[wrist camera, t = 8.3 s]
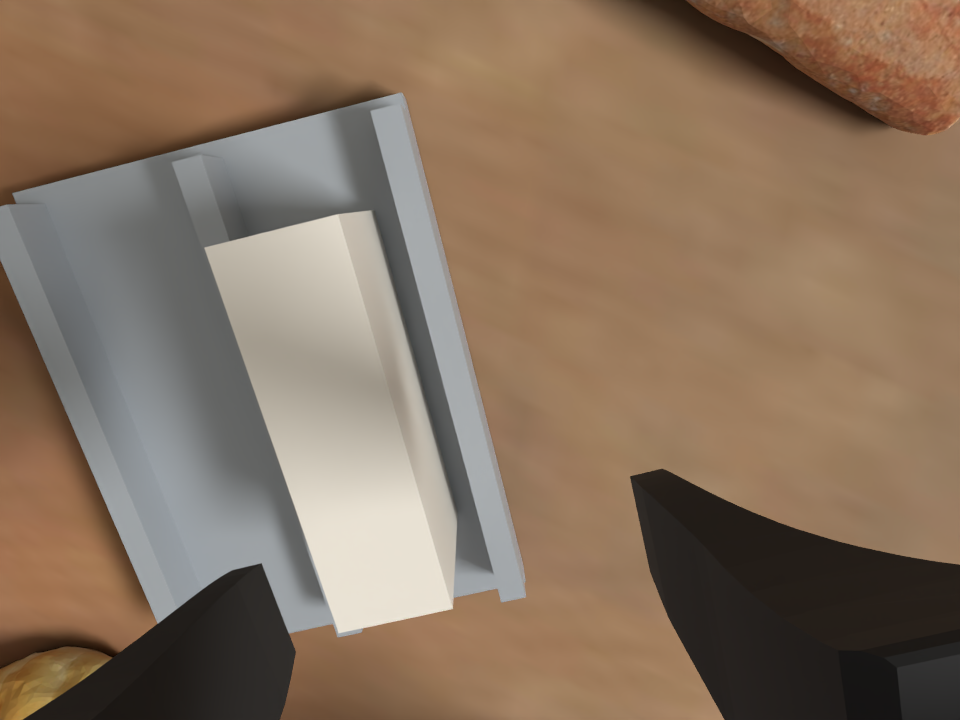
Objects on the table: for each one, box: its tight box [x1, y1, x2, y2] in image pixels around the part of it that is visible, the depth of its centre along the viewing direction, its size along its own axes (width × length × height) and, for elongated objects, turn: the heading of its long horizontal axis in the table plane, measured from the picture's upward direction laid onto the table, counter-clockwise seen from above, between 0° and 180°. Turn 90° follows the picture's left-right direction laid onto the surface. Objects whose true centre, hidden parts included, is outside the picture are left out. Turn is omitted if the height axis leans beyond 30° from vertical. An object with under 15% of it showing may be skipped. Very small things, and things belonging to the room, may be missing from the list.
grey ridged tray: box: [0, 93, 526, 637], centre depth 19 cm, size 16×12×2 cm
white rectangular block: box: [205, 210, 458, 633], centre depth 17 cm, size 10×3×5 cm, turn 13°
